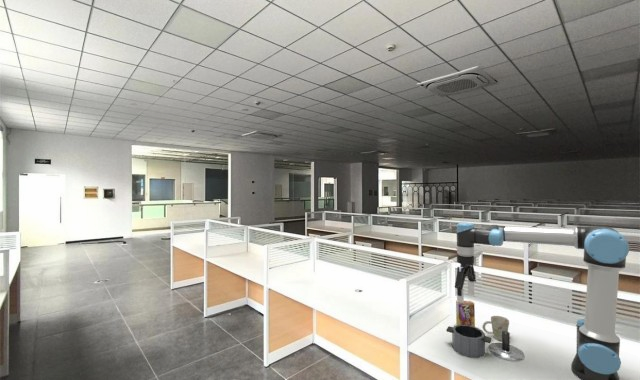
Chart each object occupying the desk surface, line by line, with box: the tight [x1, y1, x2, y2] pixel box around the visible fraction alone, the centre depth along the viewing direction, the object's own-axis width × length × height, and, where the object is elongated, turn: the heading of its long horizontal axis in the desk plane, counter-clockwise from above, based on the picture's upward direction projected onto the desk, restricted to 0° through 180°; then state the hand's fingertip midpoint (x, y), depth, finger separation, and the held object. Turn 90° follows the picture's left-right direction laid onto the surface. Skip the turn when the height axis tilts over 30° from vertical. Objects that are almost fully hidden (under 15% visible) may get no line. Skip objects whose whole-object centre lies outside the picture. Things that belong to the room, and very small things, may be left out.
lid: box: [487, 331, 525, 362], centre depth 145 cm, size 15×15×10 cm
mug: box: [482, 315, 510, 341], centre depth 159 cm, size 8×13×10 cm, turn 78°
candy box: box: [455, 300, 476, 327], centre depth 169 cm, size 9×4×15 cm, turn 85°
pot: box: [445, 325, 493, 359], centre depth 148 cm, size 20×14×9 cm
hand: (465, 298), depth 145 cm, fingers open, 13 cm apart
